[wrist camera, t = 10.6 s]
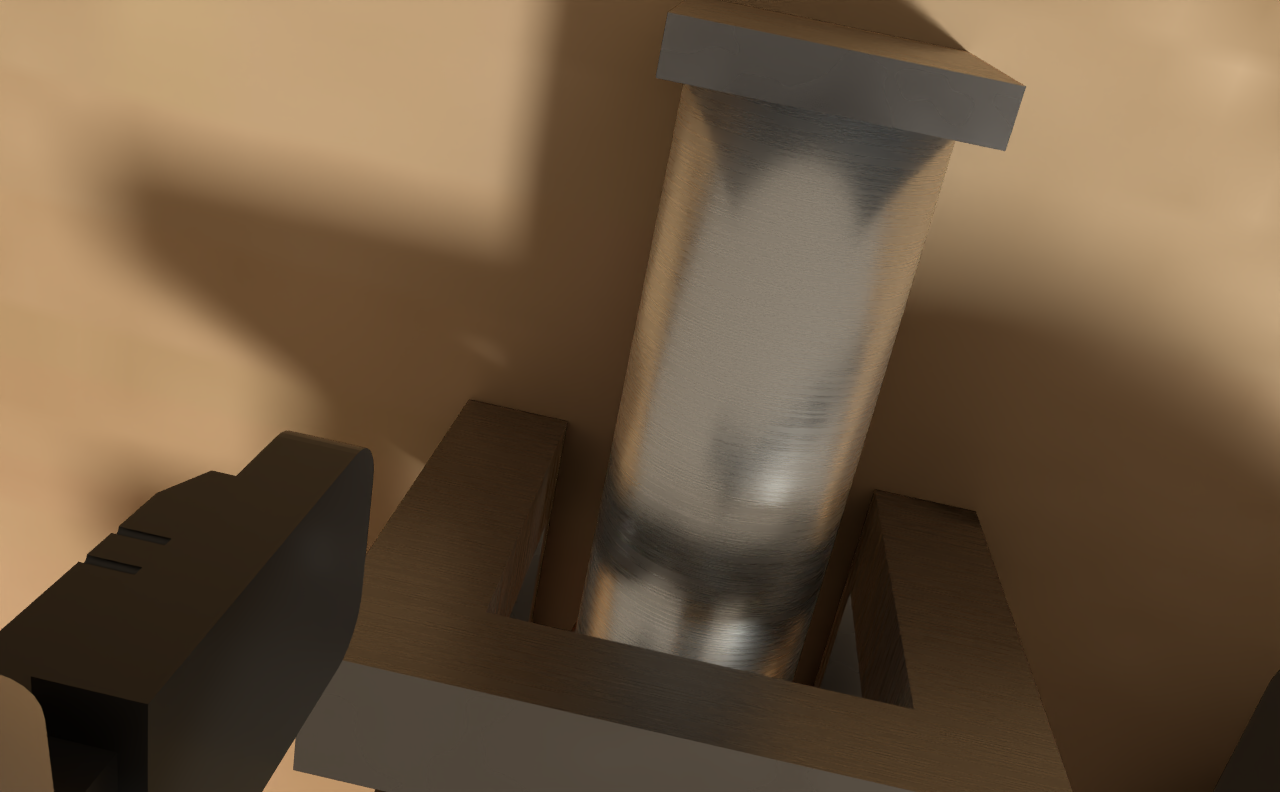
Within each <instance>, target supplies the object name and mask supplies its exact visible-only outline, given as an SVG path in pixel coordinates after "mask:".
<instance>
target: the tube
mask: <svg viewBox="0 0 1280 792" xmlns="http://www.w3.org/2000/svg"><path fill="white" fill-rule="evenodd" d="M656 78H659V79H664V80H669V81H673V82H678V83H683V88H682V93H681V98H680V103H679V108H678V113H677V118H676V123H675V128H674V133H673V138H672V143H671V148H670V154H669V159H668V164H667V169H666V174H665V179H664V184H663V189H662V194H661V199H660V204H659V209H658V214H657V219H656V225H655V230H654V235H653V240H652V245H651V250H650V255H649V260H648V265H647V270H646V275H645V280H644V285H643V290H642V296H641V301H640V306H639V311H638V316H637V321H636V326H635V331H634V336H633V341H632V346H631V351H630V356H629V361H628V367H627V372H626V377H625V382H624V387H623V392H622V397H621V402H620V407H619V412H618V417H617V422H616V427H615V432H614V437H613V443H612V448H611V453H610V458H609V463H608V468H607V473H606V478H605V483H604V488H603V493H602V498H601V503H600V508H599V514H598V519H597V524H596V529H595V534H594V539H593V544H592V549H591V554H590V559H589V564H588V569H587V574H586V579H585V585H584V590H583V595H582V600H581V605H580V610H579V615H578V620H577V622H576V624H575V625H574V627H573V629H572V631H571V632H575V633H579V634H584V635H588V636H593V637H597V638H601V639H606V640H610V641H615V642H619V643H623V644H628V645H632V646H637V647H641V648H645V649H650V650H654V651H659V652H663V653H667V654H672V655H676V656H681V657H685V658H689V659H694V660H698V661H703V662H707V663H711V664H716V665H720V666H725V667H729V668H733V669H738V670H742V671H747V672H751V673H755V674H760V675H764V676H769V677H773V678H777V679H782V680H786V681H791V682H793V678H794V675H795V671H796V668H797V665H798V661H799V658H800V655H801V651H802V648H803V645H804V641H805V638H806V635H807V631H808V628H809V625H810V621H811V618H812V615H813V611H814V608H815V605H816V602H817V598H818V595H819V592H820V588H821V585H822V582H823V578H824V575H825V572H826V568H827V565H828V562H829V558H830V555H831V552H832V548H833V545H834V542H835V538H836V535H837V532H838V528H839V525H840V522H841V518H842V515H843V512H844V508H845V505H846V502H847V499H848V495H849V492H850V489H851V485H852V482H853V479H854V475H855V472H856V469H857V465H858V462H859V459H860V455H861V452H862V449H863V445H864V442H865V439H866V435H867V432H868V429H869V425H870V422H871V419H872V415H873V412H874V409H875V406H876V402H877V399H878V396H879V392H880V389H881V386H882V382H883V379H884V376H885V372H886V369H887V366H888V362H889V359H890V356H891V352H892V349H893V346H894V342H895V339H896V336H897V332H898V329H899V326H900V322H901V319H902V316H903V313H904V309H905V306H906V303H907V299H908V296H909V293H910V289H911V286H912V283H913V279H914V276H915V273H916V269H917V266H918V263H919V259H920V256H921V253H922V249H923V246H924V243H925V239H926V236H927V233H928V229H929V226H930V223H931V219H932V216H933V213H934V210H935V206H936V203H937V200H938V196H939V193H940V190H941V186H942V183H943V180H944V176H945V173H946V170H947V166H948V163H949V160H950V156H951V153H952V150H953V146H954V143H955V141H960V142H964V143H969V144H974V145H979V146H983V147H988V148H993V149H998V150H1003V151H1006V147H1007V144H1008V141H1009V138H1010V135H1011V132H1012V129H1013V126H1014V122H1015V119H1016V116H1017V113H1018V110H1019V107H1020V104H1021V101H1022V97H1023V94H1024V91H1025V88H1026V86H1024V85H1023V84H1021V83H1019V82H1018V81H1016V80H1014V79H1013V78H1011V77H1009V76H1008V75H1006V74H1005V73H1003V72H1001V71H1000V70H998V69H996V68H995V67H993V66H991V65H990V64H988V63H986V62H985V61H983V60H981V59H980V58H978V57H976V56H975V55H973V54H971V53H970V52H968V51H963V50H959V49H954V48H949V47H944V46H939V45H934V44H930V43H925V42H920V41H915V40H910V39H905V38H901V37H896V36H891V35H886V34H881V33H876V32H872V31H867V30H862V29H857V28H852V27H847V26H843V25H838V24H833V23H828V22H823V21H818V20H814V19H809V18H804V17H799V16H794V15H789V14H785V13H780V12H775V11H770V10H765V9H760V8H756V7H751V6H746V5H741V4H736V3H731V2H727V1H722V0H685V1H683V2H682V3H680V4H679V5H677V6H676V7H675V8H673V9H672V10H670V11H669V12H668V14H667V20H666V25H665V30H664V36H663V41H662V46H661V52H660V57H659V62H658V68H657V73H656Z"/></svg>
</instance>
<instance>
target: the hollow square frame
mask: <svg viewBox="0 0 1280 792" xmlns="http://www.w3.org/2000/svg"><path fill="white" fill-rule="evenodd" d="M566 427H567V421H563V420H559V419H554V418H550V417H545V416H541V415H536V414H532V413H527V412H523V411H518V410H514V409H509V408H505V407H500V406H496V405H491V404H487V403H482V402H478V401H473V400H468V402H467V403H466V405H465V406H464V408H463V409H462V411H461V412H460V414H459V415H458V417H457V418H456V420H455V421H454V423H453V424H452V426H451V428H450V429H449V431H448V432H447V434H446V435H445V437H444V438H443V440H442V441H441V443H440V444H439V446H438V447H437V449H436V450H435V452H434V453H433V455H432V456H431V458H430V459H429V461H428V462H427V464H426V465H425V467H424V468H423V470H422V471H421V473H420V474H419V476H418V477H417V479H416V480H415V482H414V483H413V485H412V486H411V488H410V489H409V491H408V492H407V494H406V495H405V497H404V498H403V500H402V501H401V503H400V504H399V506H398V508H397V509H396V511H395V512H394V514H393V515H392V517H391V518H390V520H389V521H388V523H387V524H386V526H385V527H384V529H383V530H382V532H381V533H380V535H379V536H378V538H377V539H376V541H375V542H374V544H373V545H372V547H371V548H370V550H369V551H368V553H367V554H366V557H365V567H364V578H363V588H362V597H361V603H360V609H359V614H358V618H357V622H356V625H355V629H354V632H353V635H352V638H351V641H350V644H349V647H348V649H347V651H346V654H345V656H344V658H343V660H342V662H341V664H340V666H339V668H338V669H337V671H336V673H335V674H334V676H333V677H332V679H331V681H330V682H329V684H328V686H327V687H326V689H325V690H324V692H323V694H322V695H321V697H320V699H319V700H318V702H317V703H316V705H315V707H314V708H313V710H312V712H311V713H310V715H309V716H308V718H307V720H306V721H305V723H304V725H303V726H302V728H301V729H300V731H299V733H298V734H297V736H296V740H295V753H294V766H293V770H296V771H300V772H304V773H308V774H313V775H317V776H321V777H326V778H330V779H334V780H338V781H343V782H347V783H351V784H356V785H360V786H364V787H368V788H373V789H375V792H1073V791H1072V788H1071V785H1070V782H1069V779H1068V776H1067V773H1066V770H1065V768H1064V765H1063V762H1062V759H1061V756H1060V753H1059V750H1058V747H1057V744H1056V742H1055V739H1054V736H1053V733H1052V730H1051V727H1050V724H1049V721H1048V719H1047V716H1046V713H1045V710H1044V707H1043V704H1042V701H1041V698H1040V695H1039V693H1038V690H1037V687H1036V684H1035V681H1034V678H1033V675H1032V672H1031V670H1030V667H1029V664H1028V661H1027V658H1026V655H1025V652H1024V649H1023V647H1022V644H1021V641H1020V638H1019V635H1018V632H1017V629H1016V626H1015V623H1014V621H1013V618H1012V615H1011V612H1010V609H1009V606H1008V603H1007V600H1006V598H1005V595H1004V592H1003V589H1002V586H1001V583H1000V580H999V577H998V574H997V572H996V569H995V566H994V563H993V560H992V557H991V554H990V551H989V549H988V546H987V543H986V540H985V537H984V534H983V531H982V528H981V525H980V523H979V520H978V517H977V514H976V512H975V511H970V510H966V509H961V508H957V507H952V506H947V505H943V504H938V503H934V502H929V501H925V500H920V499H916V498H911V497H907V496H902V495H898V494H893V493H889V492H884V491H880V490H875V491H874V494H873V497H872V500H871V503H870V507H869V510H868V513H867V516H866V519H865V523H864V526H863V529H862V532H861V535H860V539H859V542H858V545H857V548H856V551H855V555H854V558H853V561H852V564H851V567H850V571H849V574H848V577H847V580H846V583H845V586H844V590H843V593H842V596H841V599H840V602H839V606H838V609H837V612H836V615H835V618H834V622H833V625H832V628H831V631H830V634H829V638H828V641H827V644H826V647H825V650H824V654H823V657H822V660H821V663H820V666H819V670H818V673H817V676H816V679H815V682H814V686H808V685H804V684H799V683H795V682H791V681H786V680H782V679H777V678H773V677H769V676H764V675H760V674H755V673H751V672H747V671H742V670H738V669H733V668H729V667H725V666H720V665H716V664H711V663H707V662H703V661H698V660H694V659H689V658H685V657H681V656H676V655H672V654H667V653H663V652H659V651H654V650H650V649H645V648H641V647H637V646H632V645H628V644H623V643H619V642H615V641H610V640H606V639H601V638H597V637H593V636H588V635H584V634H579V633H575V632H571V631H566V630H562V629H557V628H553V627H549V626H544V625H540V624H535V623H532V617H533V612H534V606H535V601H536V595H537V589H538V584H539V578H540V573H541V567H542V561H543V556H544V550H545V545H546V539H547V533H548V528H549V522H550V517H551V511H552V505H553V500H554V494H555V489H556V483H557V477H558V472H559V466H560V461H561V455H562V449H563V444H564V438H565V433H566Z"/></svg>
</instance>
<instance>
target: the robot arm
mask: <svg viewBox="0 0 1280 792" xmlns="http://www.w3.org/2000/svg"><path fill="white" fill-rule="evenodd" d="M373 473H374V464H373V457H372V453H371V451H370V450H369V449H367V448H363V447H359V446H355V445H350V444H346V443H341V442H337V441H332V440H328V439H324V438H319V437H315V436H310V435H306V434H302V433H297V432H293V431H284V432H282V433H280V434H279V435H278V436H277V437H276V438H275V439H274V440H273V441H272V442H271V443H270V444H269V445H267V446H266V447H265V448H264V449H263V450H262V451H261V452H260V453H259V454H258V455H257V456H256V457H255V458H254V459H253V460H252V461H251V462H250V463H249V464H248V465H247V466H246V467H245V468H244V469H243V470H242V471H241V472H240V473H239V474H238V475H237V476H233V475H229V474H224V473H220V472H216V471H209V472H207V473H205V474H202V475H200V476H197V477H195V478H192V479H190V480H188V481H185V482H183V483H180V484H178V485H175V486H173V487H171V488H168V489H166V490H163V491H161V492H158V493H156V494H155V495H154V496H153V497H152V498H151V499H150V500H148V501H147V502H146V503H145V504H144V505H143V506H142V507H140V508H139V509H138V510H137V511H136V512H135V513H134V514H132V515H131V516H130V517H129V518H128V519H127V520H126V521H125V522H123V523H122V524H121V525H120V526H119V530H118V532H117V534H113V533H111V534H110V535H109V536H107V537H106V538H105V539H104V540H103V541H102V542H101V543H100V544H98V545H97V546H96V547H95V548H94V549H93V550H92V551H90V552H89V553H88V554H87V558H86V561H85V562H84V563H81V562H78V563H77V564H76V565H74V566H73V567H72V568H71V569H70V570H69V571H68V572H67V573H65V574H64V575H63V576H62V577H61V578H60V579H59V580H57V581H56V582H55V583H54V584H53V585H52V586H51V587H49V588H48V589H47V590H46V591H45V592H44V593H43V594H41V595H40V596H39V597H38V598H37V599H36V600H35V601H34V602H32V603H31V604H30V605H29V606H28V607H27V608H26V609H24V610H23V611H22V612H21V613H20V614H19V615H18V616H16V617H15V618H14V619H13V620H12V621H11V622H10V623H8V624H7V625H6V626H5V627H4V628H3V629H2V630H1V631H0V792H262V791H263V789H264V788H265V786H266V785H267V783H268V781H269V780H270V778H271V776H272V775H273V773H274V772H275V770H276V768H277V767H278V765H279V763H280V762H281V760H282V759H283V757H284V755H285V754H286V752H287V750H288V749H289V747H290V746H291V744H292V742H293V741H294V739H295V737H296V736H297V734H298V733H299V731H300V729H301V728H302V726H303V725H304V723H305V721H306V720H307V718H308V716H309V715H310V713H311V712H312V710H313V708H314V707H315V705H316V703H317V702H318V700H319V699H320V697H321V695H322V694H323V692H324V690H325V689H326V687H327V686H328V684H329V682H330V681H331V679H332V677H333V676H334V674H335V673H336V671H337V669H338V668H339V666H340V664H341V662H342V660H343V658H344V656H345V654H346V651H347V649H348V647H349V644H350V641H351V638H352V635H353V632H354V629H355V625H356V622H357V618H358V614H359V609H360V603H361V597H362V588H363V578H364V567H365V557H366V547H367V537H368V527H369V516H370V506H371V496H372V486H373ZM1213 792H1280V670H1279V671H1278V672H1277V673H1276V674H1275V676H1274V677H1273V678H1272V680H1271V682H1270V683H1269V685H1268V687H1267V689H1266V691H1265V692H1264V694H1263V696H1262V698H1261V700H1260V702H1259V704H1258V706H1257V708H1256V710H1255V712H1254V714H1253V716H1252V718H1251V719H1250V721H1249V723H1248V725H1247V727H1246V729H1245V731H1244V733H1243V735H1242V737H1241V739H1240V741H1239V743H1238V745H1237V746H1236V748H1235V750H1234V752H1233V754H1232V756H1231V758H1230V760H1229V762H1228V764H1227V766H1226V768H1225V770H1224V772H1223V774H1222V775H1221V777H1220V779H1219V781H1218V783H1217V785H1216V787H1215V789H1214V791H1213Z"/></svg>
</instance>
